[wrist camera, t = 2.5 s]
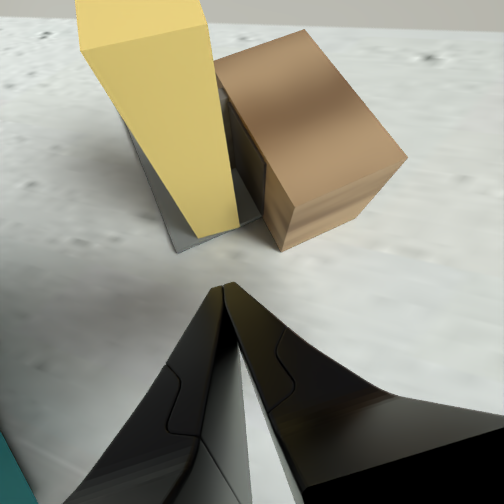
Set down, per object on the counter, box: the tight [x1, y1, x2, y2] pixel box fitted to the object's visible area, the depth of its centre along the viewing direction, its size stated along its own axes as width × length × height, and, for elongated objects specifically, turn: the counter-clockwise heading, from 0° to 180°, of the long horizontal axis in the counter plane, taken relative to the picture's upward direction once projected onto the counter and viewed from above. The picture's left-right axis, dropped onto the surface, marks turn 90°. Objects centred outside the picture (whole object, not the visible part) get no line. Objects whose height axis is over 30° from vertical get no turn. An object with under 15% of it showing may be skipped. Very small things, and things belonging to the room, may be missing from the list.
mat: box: [127, 126, 261, 253], centre depth 20 cm, size 16×6×1 cm, turn 25°
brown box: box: [213, 29, 408, 252], centre depth 16 cm, size 10×7×6 cm, turn 25°
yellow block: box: [75, 0, 240, 238], centre depth 12 cm, size 4×3×12 cm
